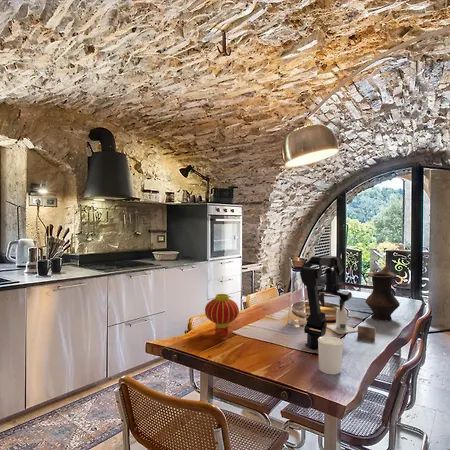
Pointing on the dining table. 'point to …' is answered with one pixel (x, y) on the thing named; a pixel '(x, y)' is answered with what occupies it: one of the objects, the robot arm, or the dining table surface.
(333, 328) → the board
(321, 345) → the white cylinder
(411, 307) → the dining table surface
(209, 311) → the lantern
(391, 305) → the jug
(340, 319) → the bottle
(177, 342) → the dining table surface
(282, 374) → the dining table surface
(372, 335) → the brown wooden box
